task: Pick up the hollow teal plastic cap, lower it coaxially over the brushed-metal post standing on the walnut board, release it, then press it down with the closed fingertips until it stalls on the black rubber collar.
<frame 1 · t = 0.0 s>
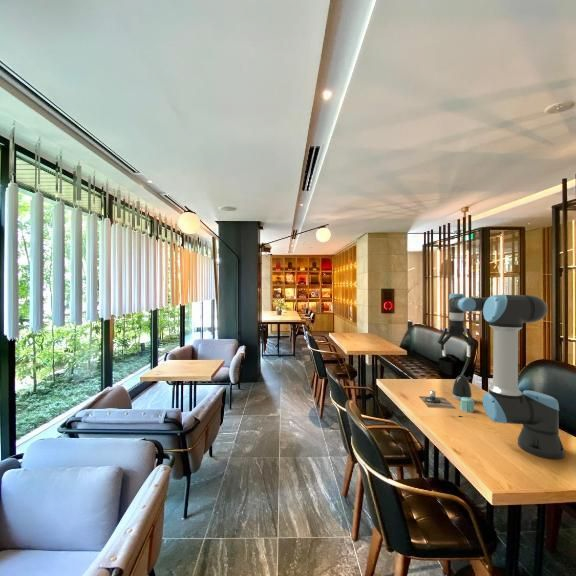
hand: (456, 356, 179), 28 cm above the table, fingers open, 13 cm apart
cap: (467, 411, 167), on the table
board: (436, 403, 179), on the table
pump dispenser: (462, 400, 185), on the table
post: (432, 400, 181), resting on board
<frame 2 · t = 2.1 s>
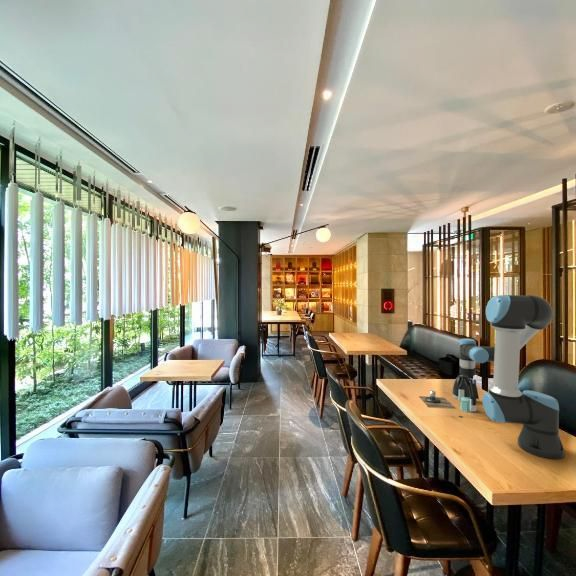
hand: (466, 405, 168), 3 cm above the table, fingers open, 13 cm apart
nothing on the table moved.
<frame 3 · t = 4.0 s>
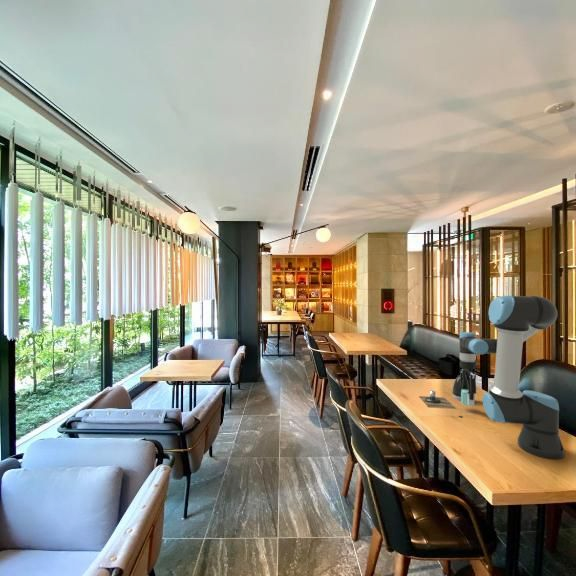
hand: (467, 403, 167), 5 cm above the table, fingers closed on cap, 6 cm apart
cap: (467, 403, 167), point 5 cm above the table, touching gripper
everything else where it was.
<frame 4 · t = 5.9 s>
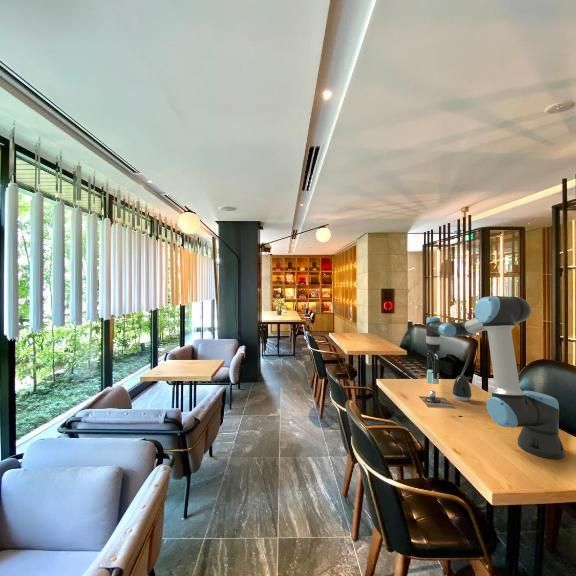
hand: (432, 382, 181), 12 cm above the table, fingers closed on cap, 6 cm apart
cap: (432, 382, 181), point 12 cm above the table, touching gripper
everything else where it was.
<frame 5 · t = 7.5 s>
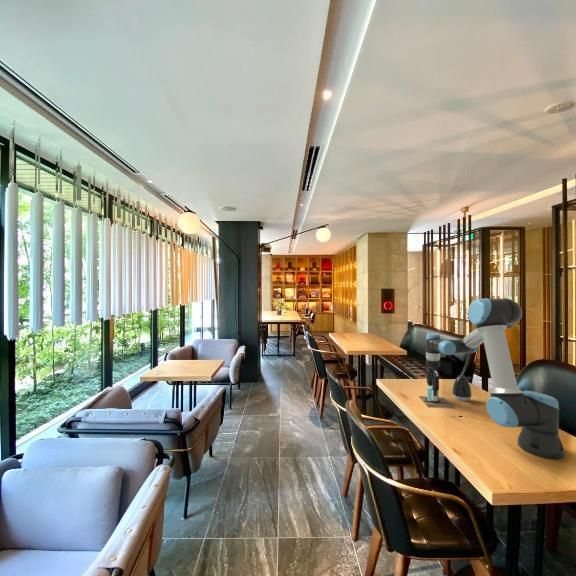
hand: (432, 398, 181), 2 cm above the table, fingers closed on cap, 6 cm apart
cap: (432, 399, 181), point 2 cm above the table, touching gripper, post
everything else where it was.
when the fingers open (2 cm above the table, at t = 7.8 s): cap stays where it is, resting on post.
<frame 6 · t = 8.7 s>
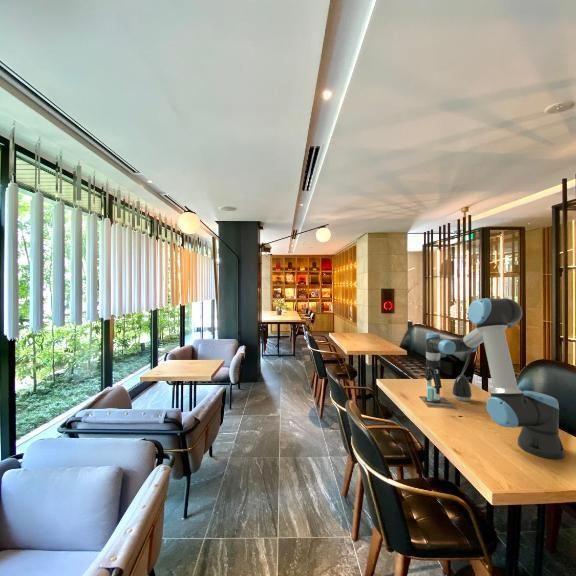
hand: (432, 395, 181), 4 cm above the table, fingers open, 13 cm apart
cap: (432, 399, 181), point 2 cm above the table, touching post
everything else where it was.
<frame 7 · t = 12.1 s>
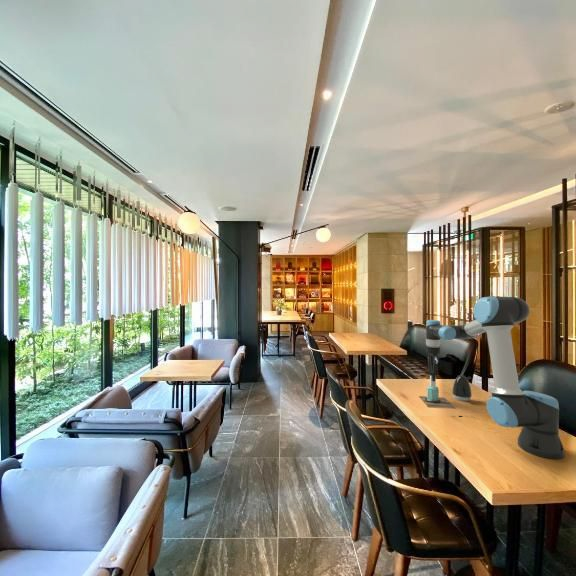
hand: (432, 386, 181), 10 cm above the table, fingers closed
nothing on the table moved.
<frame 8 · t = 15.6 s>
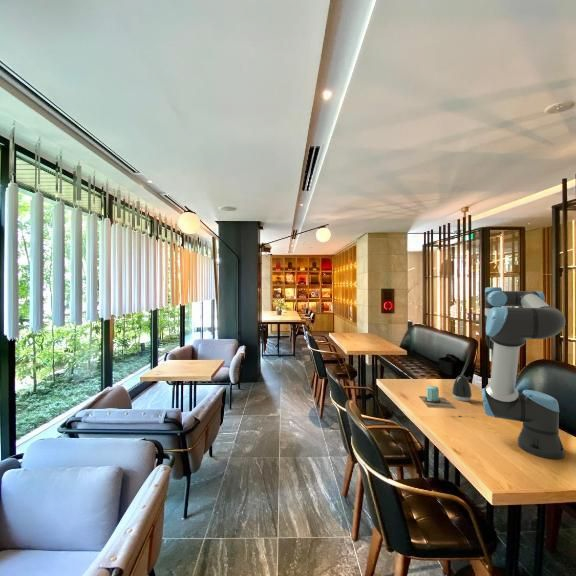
hand: (493, 361, 160), 29 cm above the table, fingers closed
nothing on the table moved.
at the end: cap 0.1 cm off-centre on the post, point 1.0 cm above the post's base; cap tilted 0°; the gripper is holding nothing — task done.
